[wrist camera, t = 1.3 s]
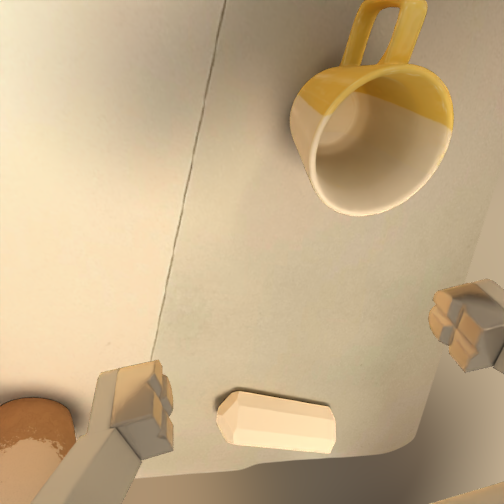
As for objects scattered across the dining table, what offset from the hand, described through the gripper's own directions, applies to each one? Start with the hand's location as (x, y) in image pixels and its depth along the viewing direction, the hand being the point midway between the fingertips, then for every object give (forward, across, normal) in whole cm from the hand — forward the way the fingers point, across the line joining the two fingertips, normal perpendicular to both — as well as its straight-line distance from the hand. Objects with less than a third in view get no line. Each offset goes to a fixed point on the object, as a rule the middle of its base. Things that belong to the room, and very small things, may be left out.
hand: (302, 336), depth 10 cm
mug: (+25, -11, 0) cm, 27 cm away
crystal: (+25, -1, +50) cm, 56 cm away
